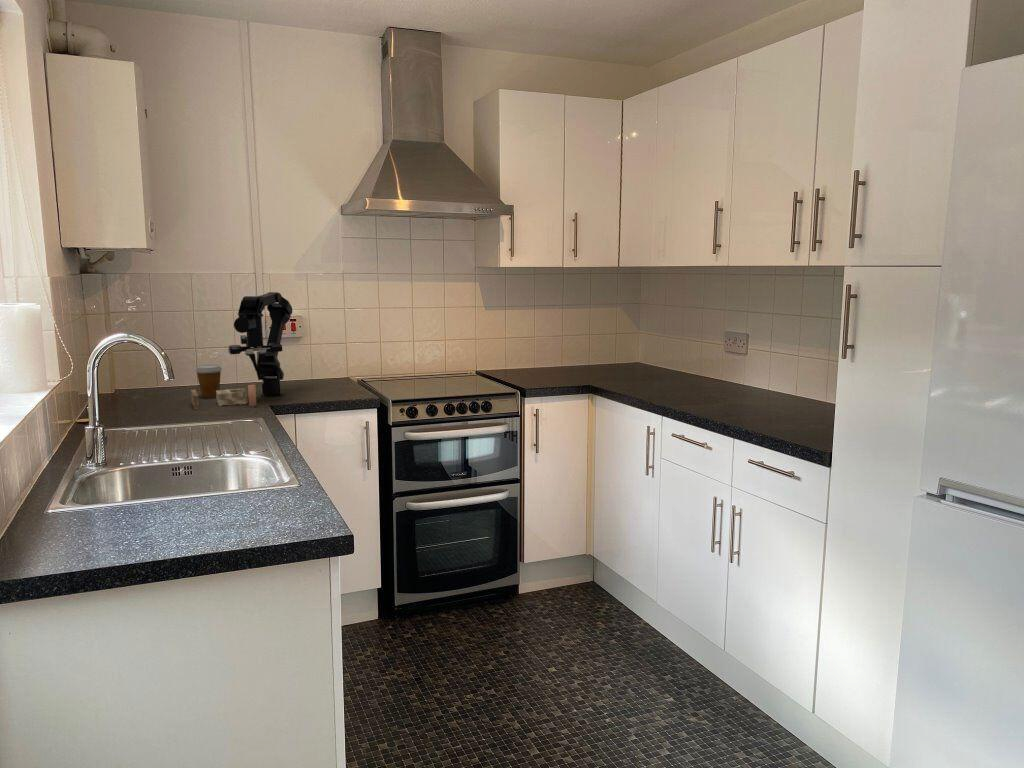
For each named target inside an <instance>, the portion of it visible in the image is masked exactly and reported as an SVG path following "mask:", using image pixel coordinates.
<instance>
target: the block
mask: <svg viewBox="0 0 1024 768" xmlns="http://www.w3.org/2000/svg"><path fill="white" fill-rule="evenodd" d="M215 398H216V403H217V405H218V406H219V407H223V406H222V405H228V406H235V405H236V404H239V405H247V404H246V403H248V404H249V400H248V390H246V389H245V388H231V389H220V390H216V397H215ZM236 406H237V405H236Z"/></svg>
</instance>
